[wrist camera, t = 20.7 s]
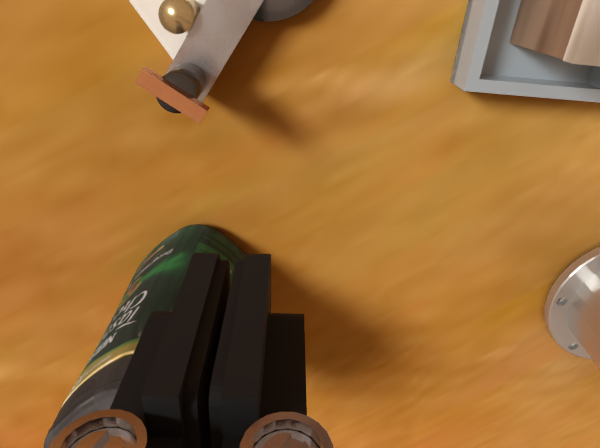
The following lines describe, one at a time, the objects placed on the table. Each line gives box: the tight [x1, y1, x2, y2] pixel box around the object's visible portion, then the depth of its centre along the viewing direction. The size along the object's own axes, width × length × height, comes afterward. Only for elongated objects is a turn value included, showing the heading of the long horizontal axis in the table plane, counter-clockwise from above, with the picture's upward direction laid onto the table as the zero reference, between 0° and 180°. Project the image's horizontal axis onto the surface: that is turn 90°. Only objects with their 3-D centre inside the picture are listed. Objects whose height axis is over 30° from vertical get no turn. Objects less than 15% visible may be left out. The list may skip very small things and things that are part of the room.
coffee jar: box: [44, 225, 245, 448], centre depth 32 cm, size 10×8×19 cm
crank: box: [135, 0, 264, 124], centre depth 27 cm, size 12×4×6 cm, turn 145°
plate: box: [129, 0, 206, 60], centre depth 31 cm, size 5×5×1 cm
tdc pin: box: [158, 0, 200, 34], centre depth 29 cm, size 2×2×3 cm
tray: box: [450, 0, 600, 102], centre depth 29 cm, size 10×10×3 cm
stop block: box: [509, 0, 600, 66], centre depth 27 cm, size 4×4×8 cm
